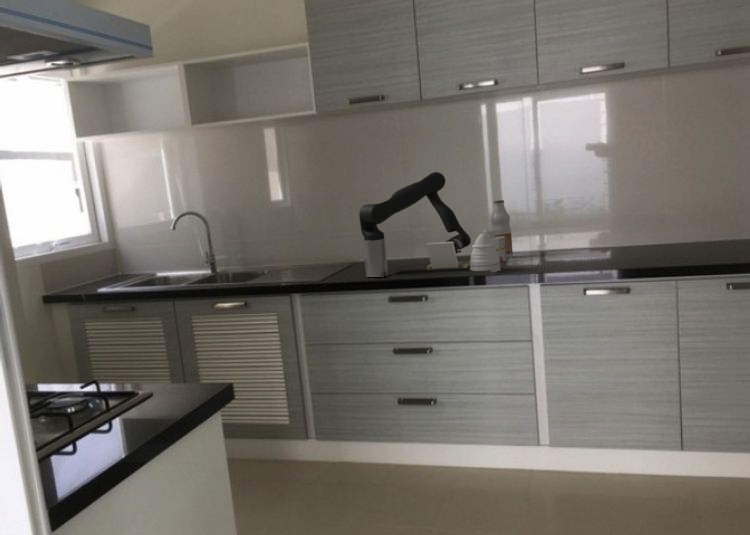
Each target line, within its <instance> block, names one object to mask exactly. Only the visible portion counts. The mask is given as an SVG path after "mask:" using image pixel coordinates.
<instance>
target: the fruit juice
mask: <svg viewBox="0 0 750 535" xmlns="http://www.w3.org/2000/svg"><path fill="white" fill-rule="evenodd" d="M493 205H494V208H493V211H492V214H491V216H490V224H491V231H495V237H500V236H505V254H506V260H509V259H512V258H513V257H514V253H513V240H512V228H511V225H510V222H511V221H510V220H511V218H510V215H509V213H508V212H507V209H506V207H505V200H503V199H500V200H498V199H497V200H494V201H493ZM491 231H490V232H491ZM491 235H493V233H492V234H491Z"/></svg>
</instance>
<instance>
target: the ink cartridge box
mask: <svg viewBox="0 0 750 535" xmlns="http://www.w3.org/2000/svg"><path fill="white" fill-rule="evenodd" d="M492 233H493V235H491V234H492ZM488 237H489V239H490V240H491V242H492V243H495V244H496V245H495V246H494V248H495V250H496V253H497V255H498V257H499V259H500V262H499V263H500V264H501V263H504V262H506V261H507V259H506V254H505V236H500V237H495V231H490V232H489V234H488Z"/></svg>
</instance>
